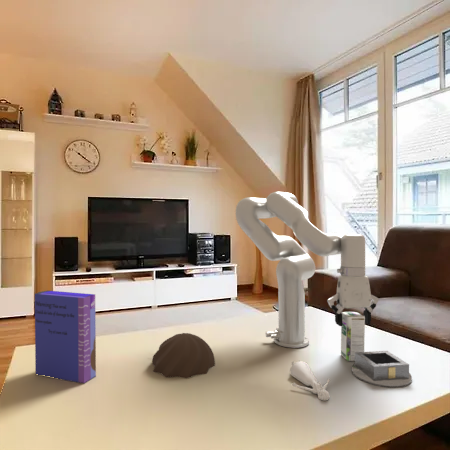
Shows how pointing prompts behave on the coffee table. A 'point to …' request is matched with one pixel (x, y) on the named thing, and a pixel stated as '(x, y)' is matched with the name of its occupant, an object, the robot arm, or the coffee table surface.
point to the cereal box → (65, 335)
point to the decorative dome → (183, 356)
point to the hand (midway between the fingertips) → (353, 324)
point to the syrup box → (352, 334)
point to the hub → (381, 369)
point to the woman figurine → (308, 379)
